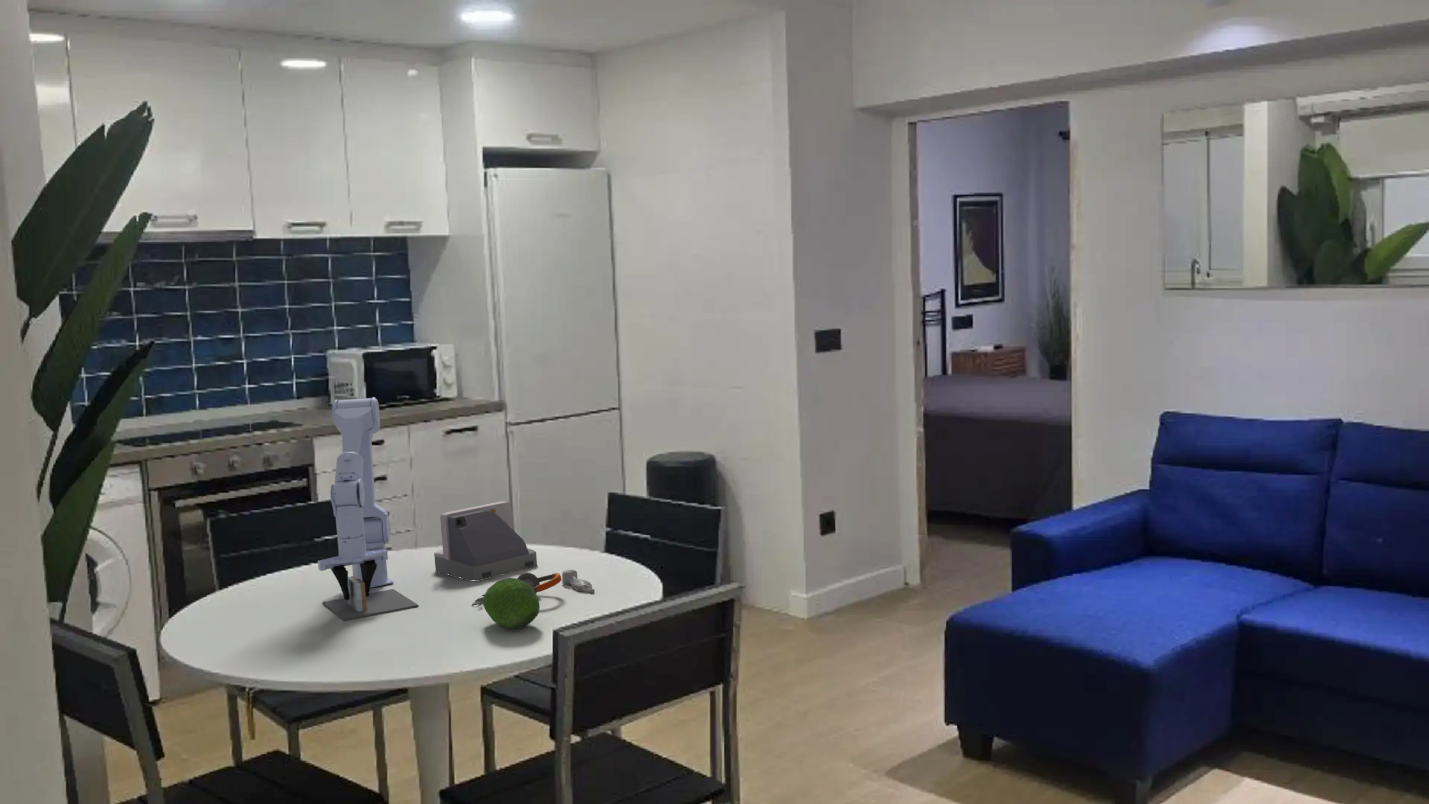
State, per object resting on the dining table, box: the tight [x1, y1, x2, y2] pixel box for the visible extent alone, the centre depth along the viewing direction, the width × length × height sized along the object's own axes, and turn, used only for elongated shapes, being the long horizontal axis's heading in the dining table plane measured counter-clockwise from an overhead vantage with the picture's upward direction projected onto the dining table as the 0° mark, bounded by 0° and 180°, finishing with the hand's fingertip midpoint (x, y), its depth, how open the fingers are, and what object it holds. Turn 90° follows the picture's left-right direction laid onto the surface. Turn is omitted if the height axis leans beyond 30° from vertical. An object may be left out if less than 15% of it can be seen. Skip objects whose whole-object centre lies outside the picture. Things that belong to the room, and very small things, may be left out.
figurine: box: [561, 569, 595, 594], centre depth 276 cm, size 4×12×4 cm, turn 33°
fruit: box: [482, 577, 541, 630], centre depth 249 cm, size 15×10×10 cm, turn 33°
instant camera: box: [433, 500, 538, 581], centre depth 300 cm, size 21×21×15 cm
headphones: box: [471, 572, 562, 607], centre depth 269 cm, size 17×5×20 cm
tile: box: [348, 575, 367, 612], centre depth 269 cm, size 8×2×6 cm, turn 31°
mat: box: [322, 588, 419, 622], centre depth 272 cm, size 18×16×1 cm
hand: (356, 597), depth 269 cm, fingers open, 4 cm apart
